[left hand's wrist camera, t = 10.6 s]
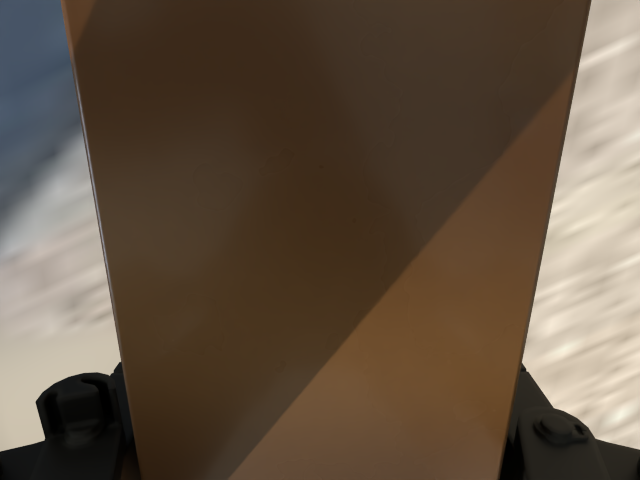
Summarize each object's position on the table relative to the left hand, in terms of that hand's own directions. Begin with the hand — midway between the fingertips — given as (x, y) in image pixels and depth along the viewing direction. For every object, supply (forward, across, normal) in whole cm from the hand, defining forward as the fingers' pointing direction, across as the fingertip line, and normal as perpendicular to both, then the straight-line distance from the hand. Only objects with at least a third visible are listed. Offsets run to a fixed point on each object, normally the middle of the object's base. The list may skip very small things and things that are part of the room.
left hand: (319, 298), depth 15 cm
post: (+1, 0, -28) cm, 28 cm away
